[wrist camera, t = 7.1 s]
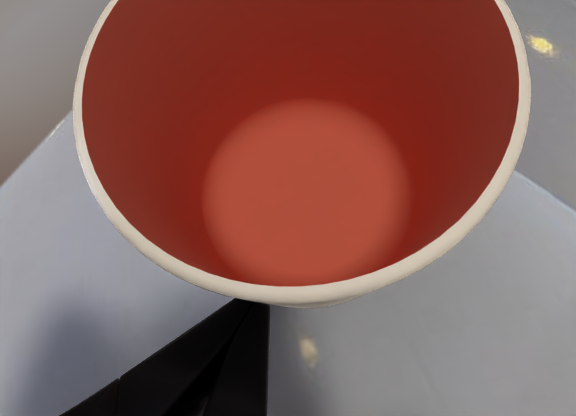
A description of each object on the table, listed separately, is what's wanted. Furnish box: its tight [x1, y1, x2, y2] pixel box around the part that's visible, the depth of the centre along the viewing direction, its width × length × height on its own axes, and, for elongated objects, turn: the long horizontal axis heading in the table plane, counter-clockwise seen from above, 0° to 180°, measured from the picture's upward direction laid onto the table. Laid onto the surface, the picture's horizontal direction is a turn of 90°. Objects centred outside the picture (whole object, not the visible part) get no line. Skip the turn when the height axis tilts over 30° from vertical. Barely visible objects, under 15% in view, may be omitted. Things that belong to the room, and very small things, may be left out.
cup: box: [73, 0, 531, 308], centre depth 13 cm, size 10×10×10 cm
